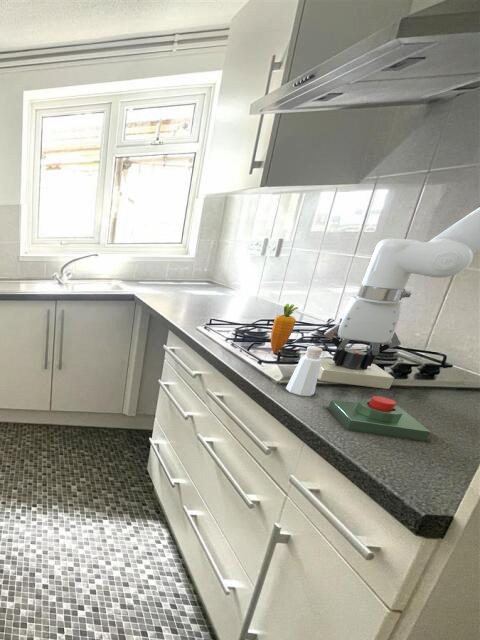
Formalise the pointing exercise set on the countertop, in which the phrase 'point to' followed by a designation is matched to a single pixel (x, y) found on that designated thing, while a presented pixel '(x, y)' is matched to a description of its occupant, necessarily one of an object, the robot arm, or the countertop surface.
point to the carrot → (282, 328)
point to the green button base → (377, 420)
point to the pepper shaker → (306, 373)
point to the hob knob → (353, 359)
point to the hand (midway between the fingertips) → (350, 365)
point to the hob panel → (354, 375)
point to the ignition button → (382, 403)
